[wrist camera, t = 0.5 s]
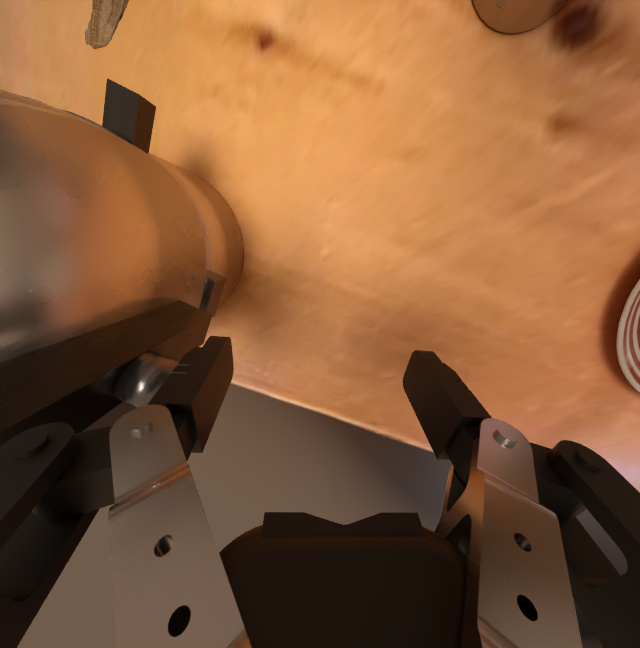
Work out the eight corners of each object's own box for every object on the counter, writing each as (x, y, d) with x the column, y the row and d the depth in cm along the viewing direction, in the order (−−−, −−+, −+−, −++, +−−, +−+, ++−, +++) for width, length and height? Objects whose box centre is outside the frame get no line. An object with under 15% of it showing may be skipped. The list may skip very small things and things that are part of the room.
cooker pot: (185, 110, 25) (58, 4, 14) (293, 263, 29) (262, 275, 18) (73, 237, 31) (-83, 234, 20) (176, 350, 35) (97, 401, 24)
